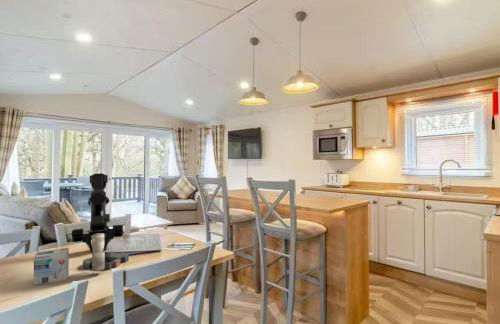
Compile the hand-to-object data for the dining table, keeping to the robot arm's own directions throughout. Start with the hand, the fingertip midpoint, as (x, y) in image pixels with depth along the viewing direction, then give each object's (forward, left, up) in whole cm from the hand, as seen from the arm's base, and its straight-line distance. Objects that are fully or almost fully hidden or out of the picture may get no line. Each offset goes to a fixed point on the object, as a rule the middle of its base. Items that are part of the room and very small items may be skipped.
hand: (98, 251), depth 114 cm
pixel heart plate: (-6, +12, -9) cm, 16 cm away
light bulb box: (-15, -7, -10) cm, 19 cm away
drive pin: (-1, +1, -8) cm, 8 cm away
